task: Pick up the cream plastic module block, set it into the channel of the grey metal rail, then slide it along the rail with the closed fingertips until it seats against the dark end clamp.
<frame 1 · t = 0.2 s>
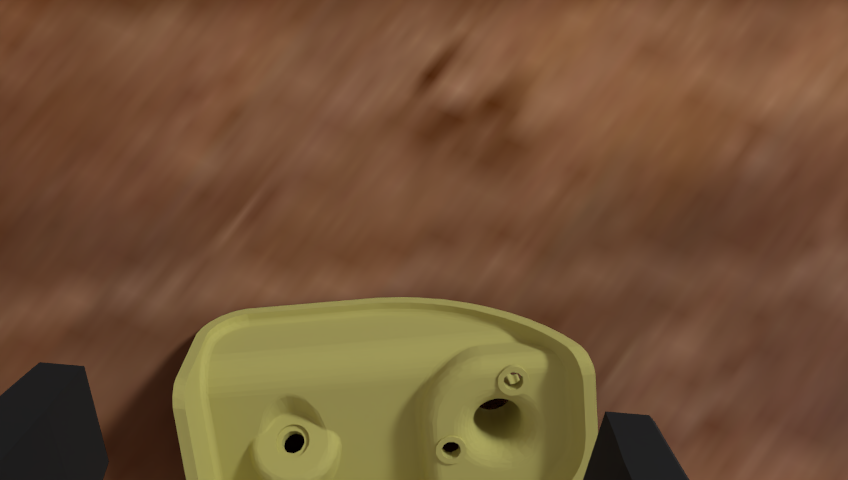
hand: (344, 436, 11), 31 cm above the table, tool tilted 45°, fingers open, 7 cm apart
plastic component: (384, 418, 41), on the table
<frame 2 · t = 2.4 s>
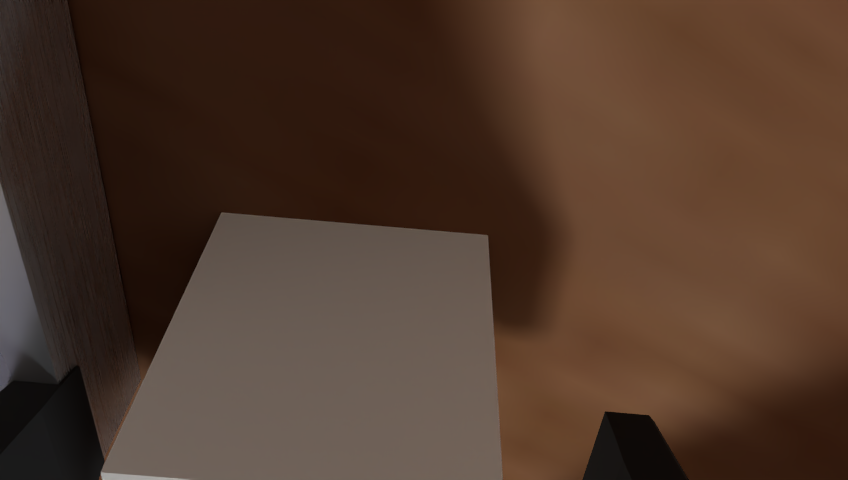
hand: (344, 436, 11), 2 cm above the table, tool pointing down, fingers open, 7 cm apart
module: (351, 348, 12), on the table
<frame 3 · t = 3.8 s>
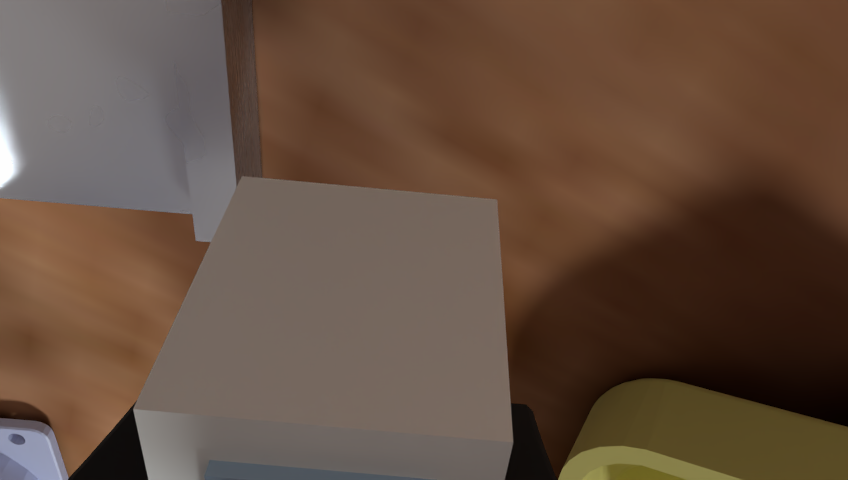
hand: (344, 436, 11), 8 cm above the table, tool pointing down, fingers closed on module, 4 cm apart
module: (363, 314, 13), point 6 cm above the table, touching gripper
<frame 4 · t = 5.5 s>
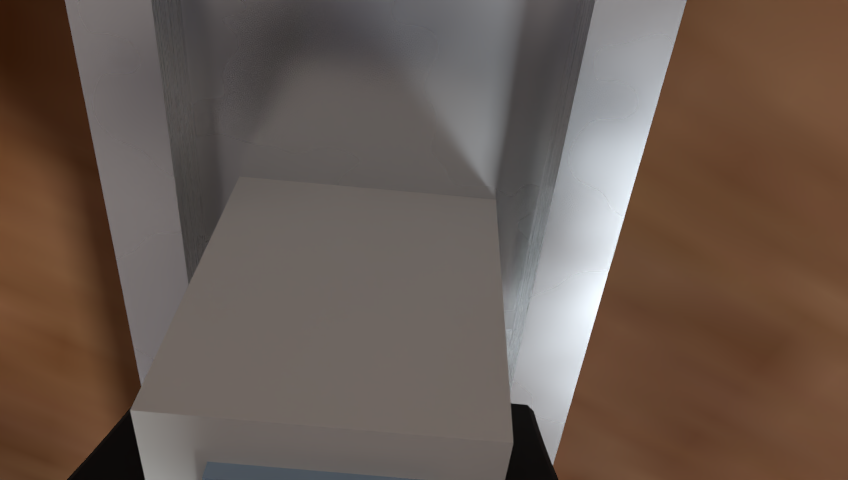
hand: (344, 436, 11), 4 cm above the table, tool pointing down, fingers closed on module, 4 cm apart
rail: (374, 184, 12), on the table
module: (362, 315, 13), point 1 cm above the table, touching gripper, rail
when the fingers open (4 cm above the table, at t = 5.5 s): module stays where it is, resting on rail.
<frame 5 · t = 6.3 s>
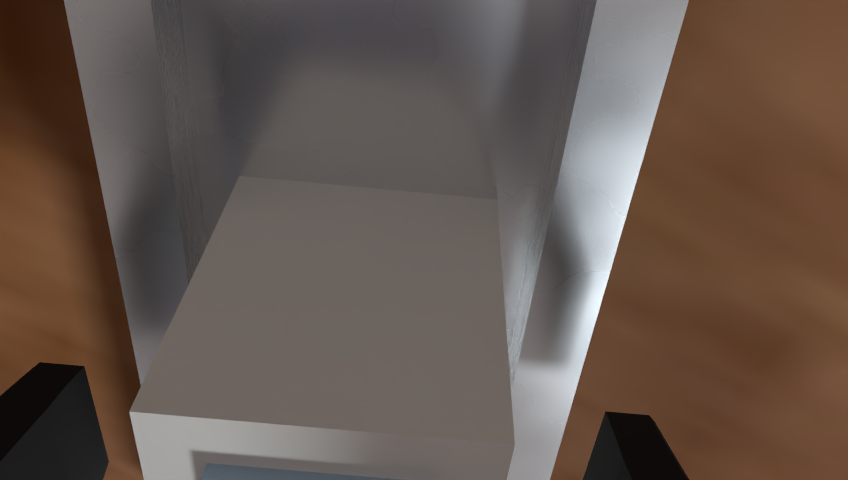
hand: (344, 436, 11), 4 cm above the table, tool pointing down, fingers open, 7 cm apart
rail: (374, 184, 12), on the table
module: (362, 315, 12), point 1 cm above the table, touching rail
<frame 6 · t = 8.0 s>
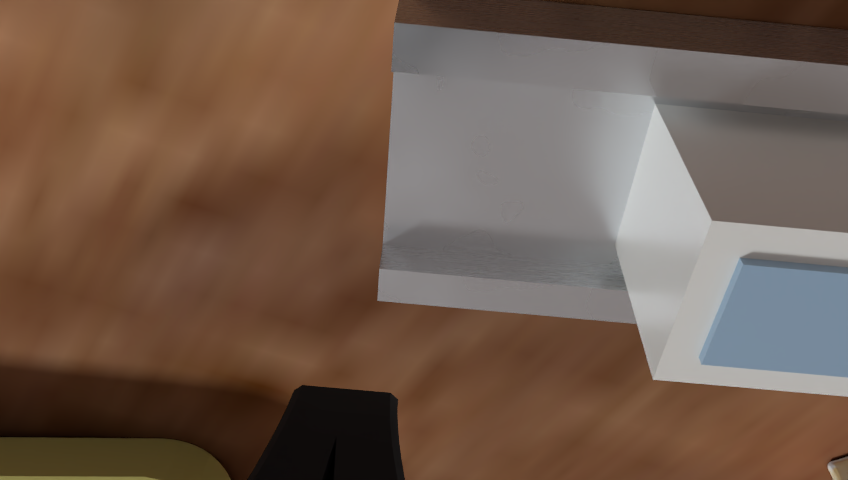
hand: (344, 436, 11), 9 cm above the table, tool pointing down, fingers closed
rail: (799, 169, 18), on the table
module: (740, 188, 17), point 1 cm above the table, touching rail
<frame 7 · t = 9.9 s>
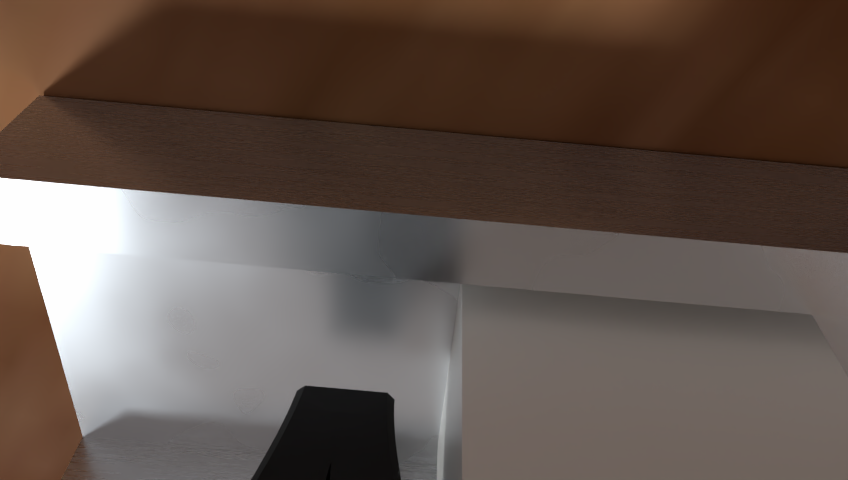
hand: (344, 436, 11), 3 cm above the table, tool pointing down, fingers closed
rail: (666, 334, 13), on the table
module: (605, 380, 12), point 1 cm above the table, touching gripper
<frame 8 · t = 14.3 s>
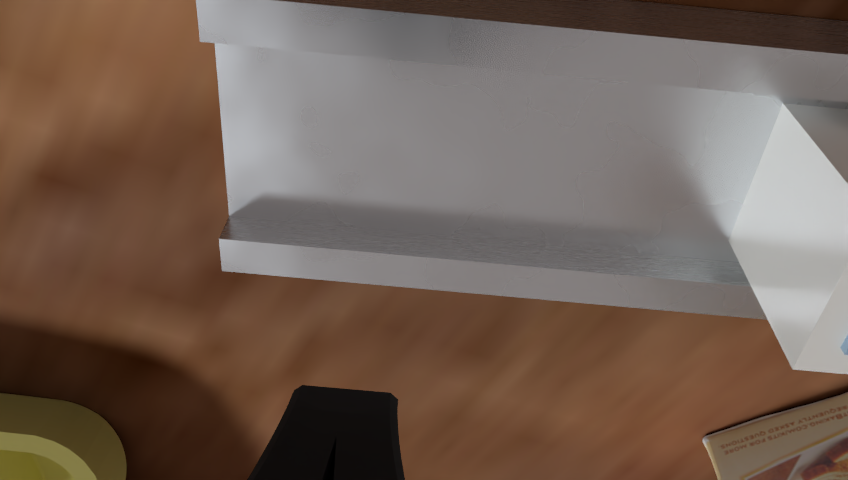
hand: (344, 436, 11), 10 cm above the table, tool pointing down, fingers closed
rail: (633, 142, 19), on the table
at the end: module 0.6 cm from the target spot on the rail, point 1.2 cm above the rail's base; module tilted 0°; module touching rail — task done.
